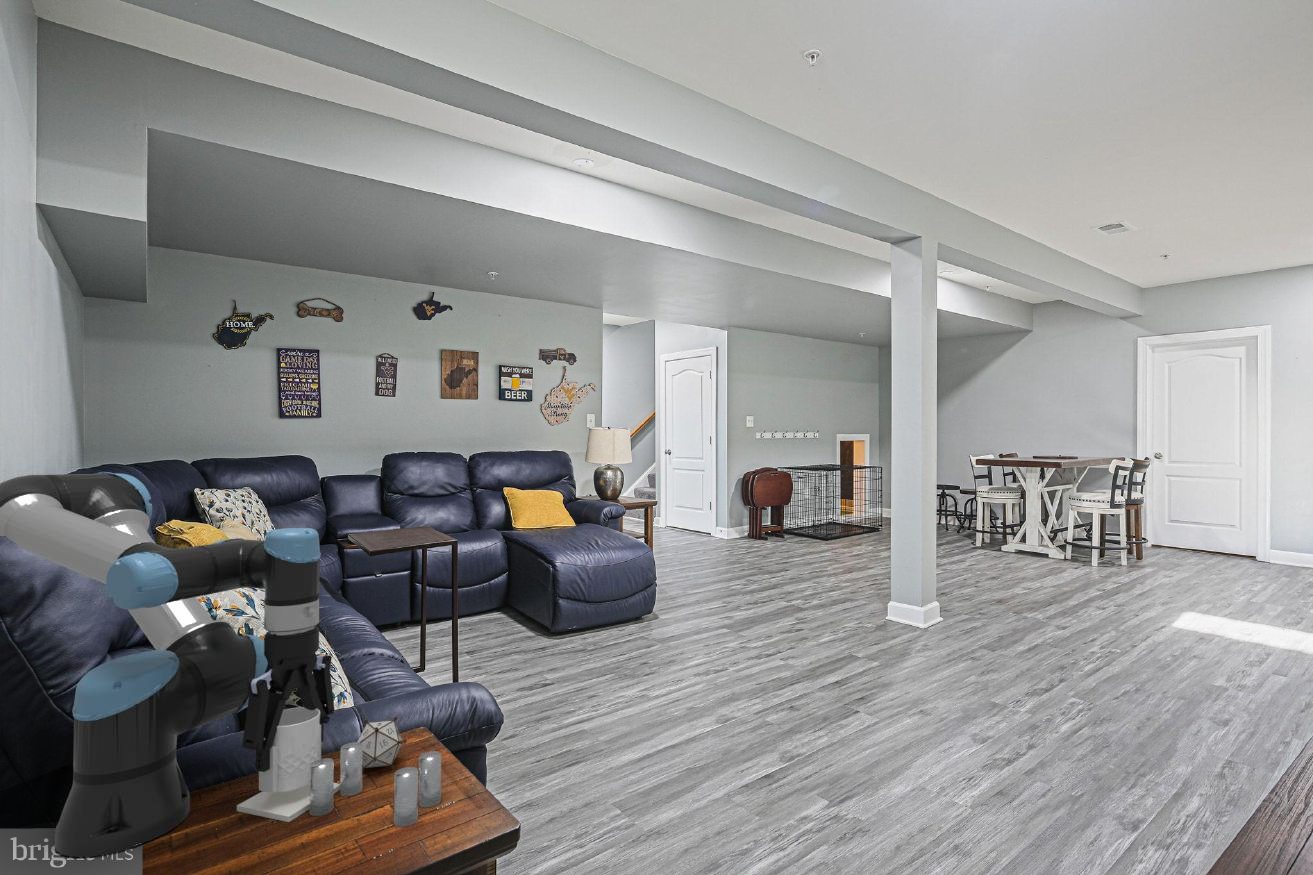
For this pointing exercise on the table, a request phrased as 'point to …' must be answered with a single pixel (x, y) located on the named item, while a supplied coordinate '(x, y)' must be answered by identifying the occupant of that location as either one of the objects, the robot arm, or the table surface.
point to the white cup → (296, 747)
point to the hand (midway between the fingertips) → (291, 777)
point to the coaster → (280, 803)
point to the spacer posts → (353, 783)
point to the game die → (380, 743)
